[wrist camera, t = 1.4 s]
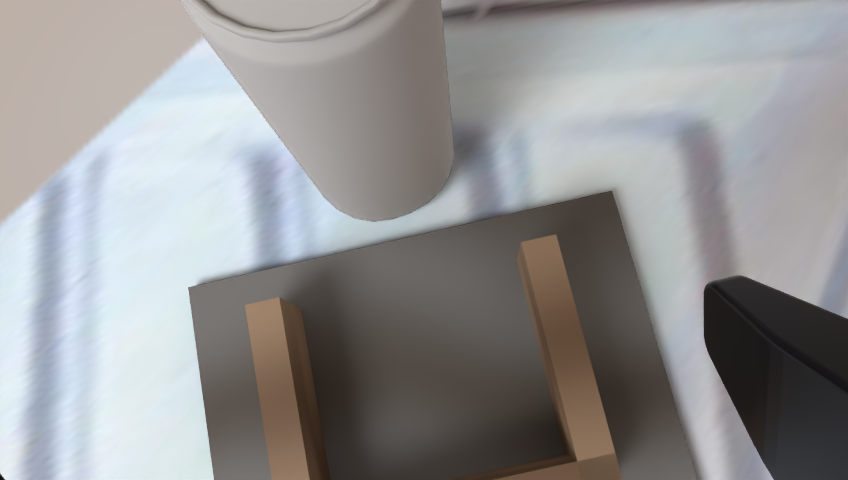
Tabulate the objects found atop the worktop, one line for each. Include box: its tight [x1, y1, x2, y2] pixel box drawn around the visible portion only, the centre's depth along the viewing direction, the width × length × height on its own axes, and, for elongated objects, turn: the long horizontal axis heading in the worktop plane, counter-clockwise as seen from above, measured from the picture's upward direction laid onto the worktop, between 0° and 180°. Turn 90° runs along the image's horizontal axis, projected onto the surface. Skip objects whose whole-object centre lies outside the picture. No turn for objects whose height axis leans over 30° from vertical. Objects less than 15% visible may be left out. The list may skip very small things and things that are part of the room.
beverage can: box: [180, 0, 454, 222], centre depth 18 cm, size 5×5×12 cm
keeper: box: [188, 191, 697, 480], centre depth 20 cm, size 10×14×3 cm
